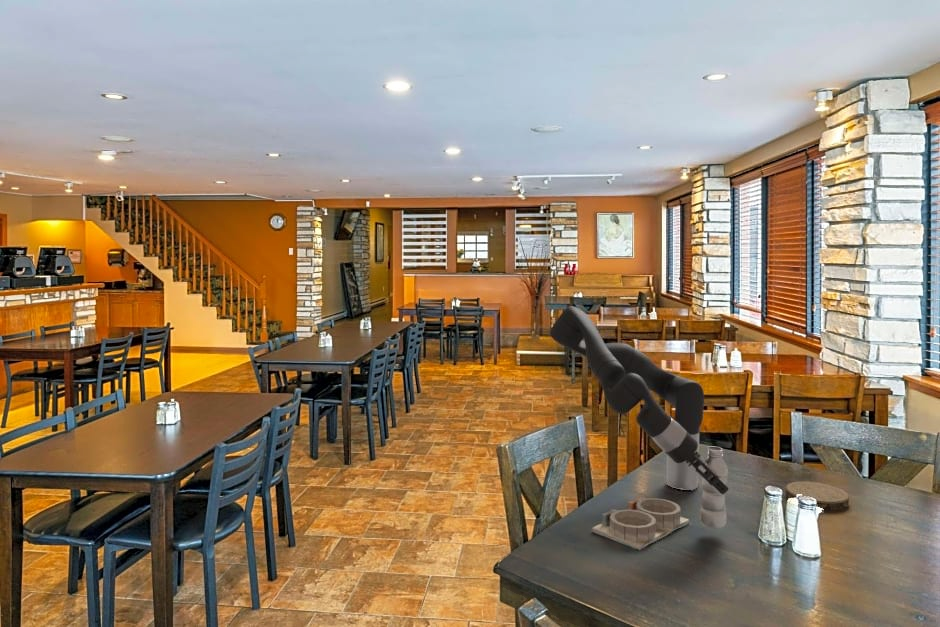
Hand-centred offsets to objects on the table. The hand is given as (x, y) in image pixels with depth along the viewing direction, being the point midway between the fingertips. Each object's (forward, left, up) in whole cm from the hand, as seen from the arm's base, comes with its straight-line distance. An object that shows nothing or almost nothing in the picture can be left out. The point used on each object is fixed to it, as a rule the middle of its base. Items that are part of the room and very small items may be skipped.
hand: (720, 486), depth 160 cm
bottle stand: (+10, -16, -13) cm, 23 cm away
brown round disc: (-43, +7, -13) cm, 46 cm away
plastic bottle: (+1, -1, -11) cm, 11 cm away
